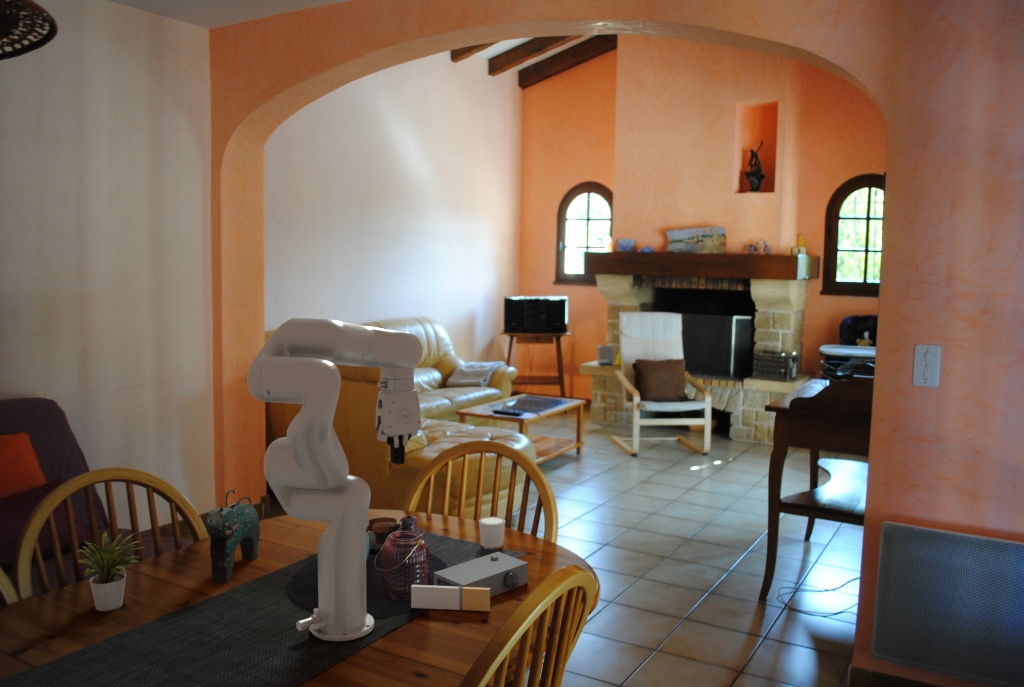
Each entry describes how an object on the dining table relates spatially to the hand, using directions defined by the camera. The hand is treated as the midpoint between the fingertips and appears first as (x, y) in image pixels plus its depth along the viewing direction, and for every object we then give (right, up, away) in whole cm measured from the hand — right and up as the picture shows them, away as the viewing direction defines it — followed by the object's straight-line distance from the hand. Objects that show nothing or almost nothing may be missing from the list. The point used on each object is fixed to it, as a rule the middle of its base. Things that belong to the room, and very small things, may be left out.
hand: (397, 463), depth 197 cm
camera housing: (+19, -28, -4) cm, 34 cm away
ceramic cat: (-40, -27, +6) cm, 48 cm away
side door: (+13, -29, -16) cm, 35 cm away
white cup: (+21, -25, +24) cm, 41 cm away
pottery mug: (-6, -25, +25) cm, 35 cm away
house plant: (-59, -29, -17) cm, 68 cm away
